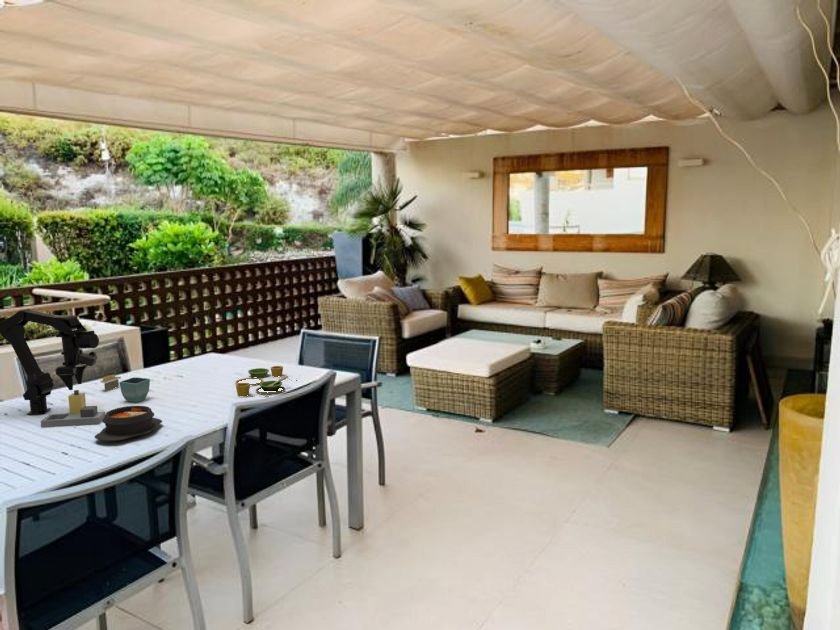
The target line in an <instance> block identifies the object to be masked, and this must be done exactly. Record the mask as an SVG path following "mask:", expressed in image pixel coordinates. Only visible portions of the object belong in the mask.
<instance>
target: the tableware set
mask: <svg viewBox="0 0 840 630" xmlns="http://www.w3.org/2000/svg"><path fill="white" fill-rule="evenodd" d="M269 372H271V377H272V376H274V377H278V376H282V377H280V378H281V379H280V378H278V379H277V380H278V381H277V380H266V381H264V379H263V378H264V377H263V376H265V377H266V376H267V375H268V373H269ZM283 372H284V366H282V365H274V366H271V367H270V370H269V368H265V367H264V368H263V367H262V368H259V367H258V368H252V369H249V370H248V371H247V373H248V374H249V375H250V376H251V377H246V378H240V379H237V380H235V388H236V394H237V397H238V396H247V395H248V396H249V394H250V387H251V386H250V385H255V386H257V385H256V384H259V385H258V386H259V387H257V388H256V389H255V392H256V394H259V393H261V394H260V395H262V394H273V395H278V394H277V393H279V394H281V393H283V392H284V391H286V387H285V386H281V385H283V382H282V381H283V380H286V379H288V378H289V376H285V375H283ZM253 377H263V378H253ZM274 377H273V378H274ZM246 379H259V380H261V382H260V383H256V384H249V383H238V382H239V381H242V380H246ZM261 388H262V389H263V390H264V391H276V392H268V393H267V392H259V391H258V390H259V389H261ZM279 388H282V389H283V390H281V391H278V389H279ZM282 391H283V392H282ZM248 396H247V397H248ZM263 396H265V397H264V398H269V396H270V395H263Z"/></svg>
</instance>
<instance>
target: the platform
mask: <svg viewBox="0 0 840 630" xmlns="http://www.w3.org/2000/svg"><path fill="white" fill-rule="evenodd" d="M120 379H122V376H116V374H114V375H113V374H110V375H107V376H103V377H102V380H100V383H101V384H104V391H106V392H108V390H109V391H111V390H110V389H112V390H114V389H113V388H115V387H118V386H119V387H120V384H119V382H120V381H119V380H120ZM119 387H118V388H119ZM115 389H116V388H115Z"/></svg>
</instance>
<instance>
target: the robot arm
mask: <svg viewBox="0 0 840 630" xmlns="http://www.w3.org/2000/svg"><path fill="white" fill-rule="evenodd" d="M29 322H31V323H34V324H35V323H36V324H39V325H40V324H41V325H44V326H50V327H51V328H53V329H54V330H57V331H58V333H57V334H56V335H55V337H56V338H61V343H62V345H61V346H62V351H61V353H60V355H61V356H63V362H62V365H60V366H57V367H56V369H54V370H55V375H56V376H57V377H59V378H60V379H61V380H62V382H63V384H65V386H66V387H67V388H68V389H67V390H69V391H74V378H75V381H76V382H77V384H78V385H82V383H83V379H84V378H83V377H84V373H85V370H86V369H87V367H93V366H95V365H96V362H97V361H98V359H99V358H98V355H97V353H96V351H90V352H89V353H88V352H86V353H84V352H83V349H96V348H97V347H98V346H99V343H100V338H99V337H98V335H97V334H96V333H95V330H87V329H86V327H85V326H84V325H83V324H82V322H81V321H80V319H79V318H78V316H77V315H73V314H72V315H71V314H63V315H58V314H57V315H55V314H50V313H45V312H41V311H37V310H32V309H29V308H25V309H21V310H18V311H16V312H15V314H12V315H11V316H9V317H8V318H6V319H5V320H1V321H0V336H1V337H2V339H4V340H5V341H6V342H8V343H10V345H11V347H12V348H13V349H12V350H14V352H15V355H16V357H17V358H18V360H19V363H20V364H21V366H22V368H23V370H24V372H25V374H26V376H27V377H26V385H27V390H26V391H25V392H24V393H23V394H22V397H23V399H24V401H29V409H30V411H29V412H27V413H26V415H27V416H28V415H31V416H33V415H45V414H46V413H48V412H49V411H51V407H48V402H47V396H50V395H51V393H52V390H54V389H53V388H54V386H55V385H54V379H53V378H52V377H51V373H50V372H48V371H47V372H43V371H42V370H41V368H40V366H39V364H38V362H37V359H36V358H35V356H34V354H33V352H32V350H31V349H30V347H29V344H28V343H27V341H26V339H25V335H26V330H25V326H26V325H27V324H28V323H29Z"/></svg>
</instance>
